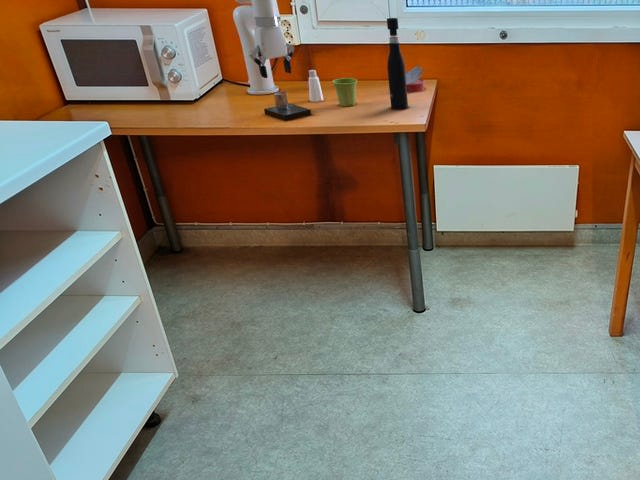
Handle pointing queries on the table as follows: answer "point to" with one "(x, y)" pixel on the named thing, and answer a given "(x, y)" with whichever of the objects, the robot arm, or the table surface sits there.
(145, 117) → the table surface
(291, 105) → the black knob panel
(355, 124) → the table surface
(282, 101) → the hob knob
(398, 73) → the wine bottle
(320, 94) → the pepper shaker
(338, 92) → the plant pot
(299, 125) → the table surface
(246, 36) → the robot arm
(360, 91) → the table surface
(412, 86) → the tissue box
